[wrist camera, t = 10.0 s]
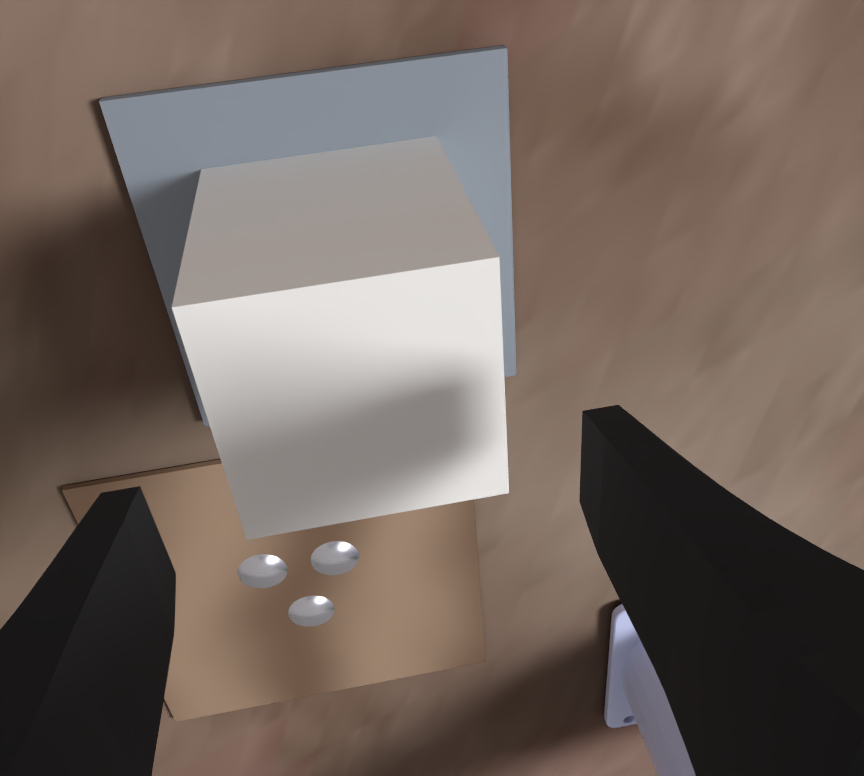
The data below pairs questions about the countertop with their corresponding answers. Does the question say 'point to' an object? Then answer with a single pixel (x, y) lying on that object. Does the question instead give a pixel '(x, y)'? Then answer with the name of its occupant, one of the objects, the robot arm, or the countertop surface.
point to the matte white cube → (345, 335)
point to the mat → (317, 143)
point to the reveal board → (303, 595)
